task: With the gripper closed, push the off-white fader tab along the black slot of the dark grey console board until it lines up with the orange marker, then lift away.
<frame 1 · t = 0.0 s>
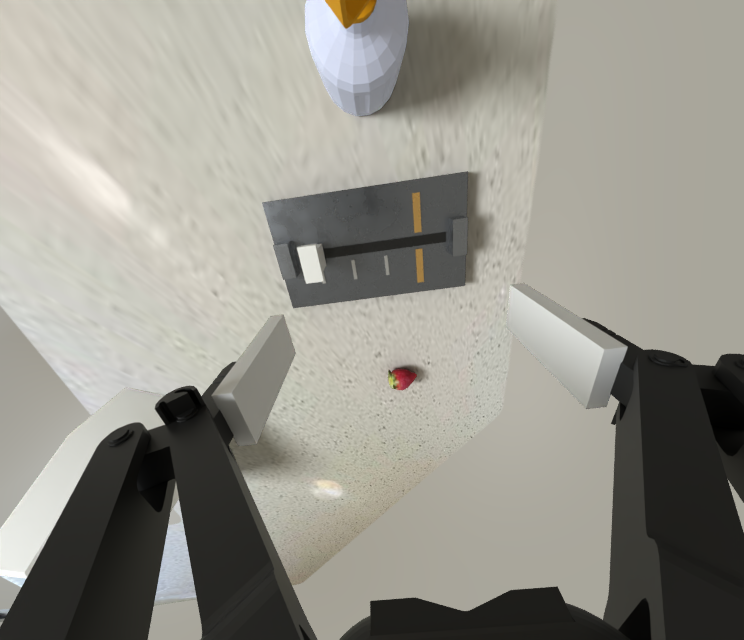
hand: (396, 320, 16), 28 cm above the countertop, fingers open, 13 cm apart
console: (370, 244, 41), on the countertop
milk carton: (167, 426, 58), on the countertop
fader: (314, 259, 37), point 5 cm above the countertop, slide at 0.0 cm
fruit: (400, 371, 52), on the countertop
soap bottle: (359, 70, 32), on the countertop
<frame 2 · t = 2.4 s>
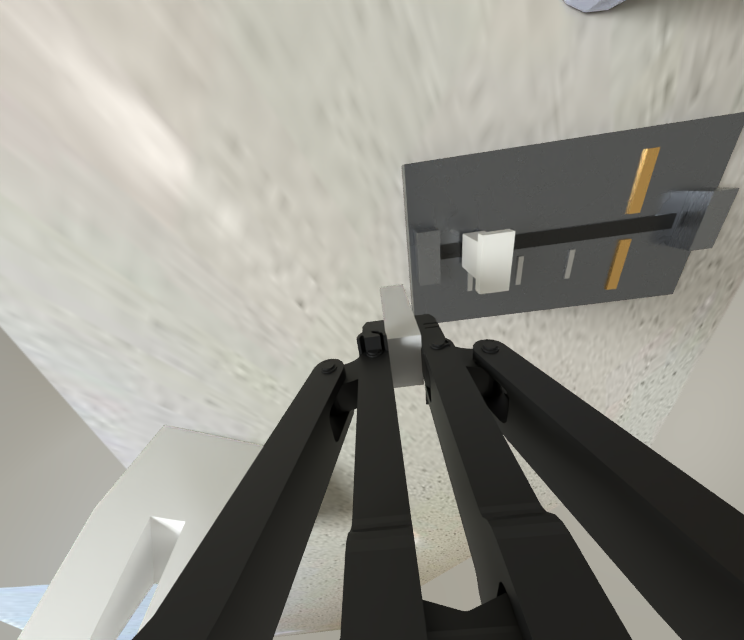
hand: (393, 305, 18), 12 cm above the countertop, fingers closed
console: (541, 233, 28), on the countertop
milk carton: (213, 470, 46), on the countertop
fader: (483, 256, 23), point 5 cm above the countertop, slide at 0.0 cm
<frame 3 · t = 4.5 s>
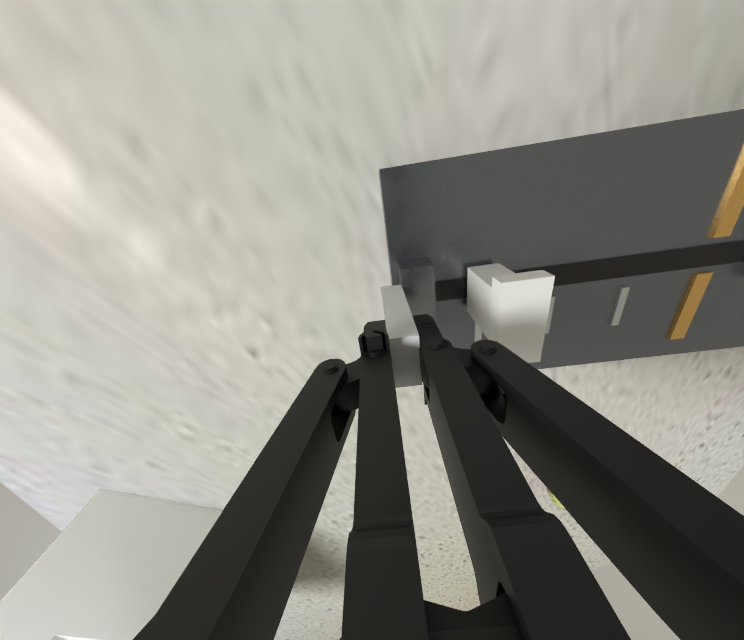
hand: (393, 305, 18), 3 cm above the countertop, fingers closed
console: (578, 262, 20), on the countertop
milk carton: (169, 535, 38), on the countertop
fader: (499, 303, 16), point 5 cm above the countertop, slide at 0.0 cm
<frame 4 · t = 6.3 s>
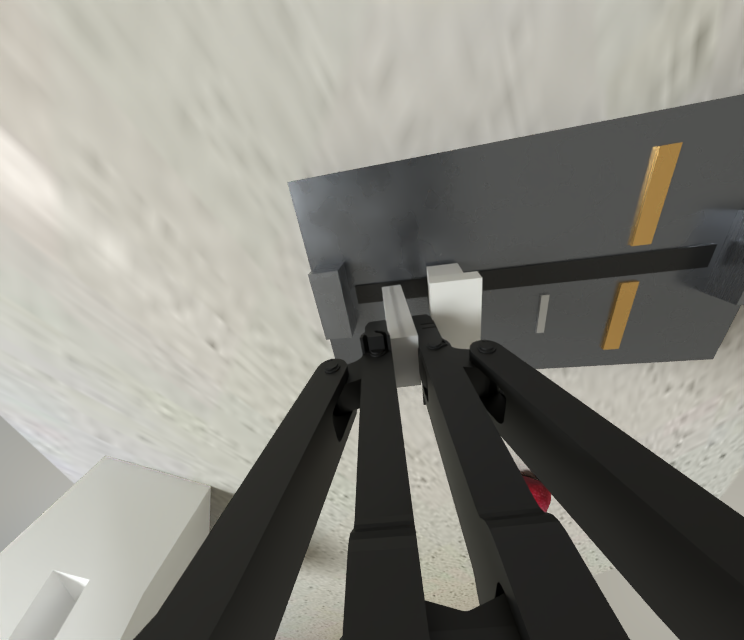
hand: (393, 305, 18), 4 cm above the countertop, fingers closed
console: (505, 268, 20), on the countertop
milk carton: (164, 501, 43), on the countertop
fader: (448, 303, 16), point 5 cm above the countertop, slide at 3.4 cm, touching gripper
fruit: (519, 475, 31), on the countertop
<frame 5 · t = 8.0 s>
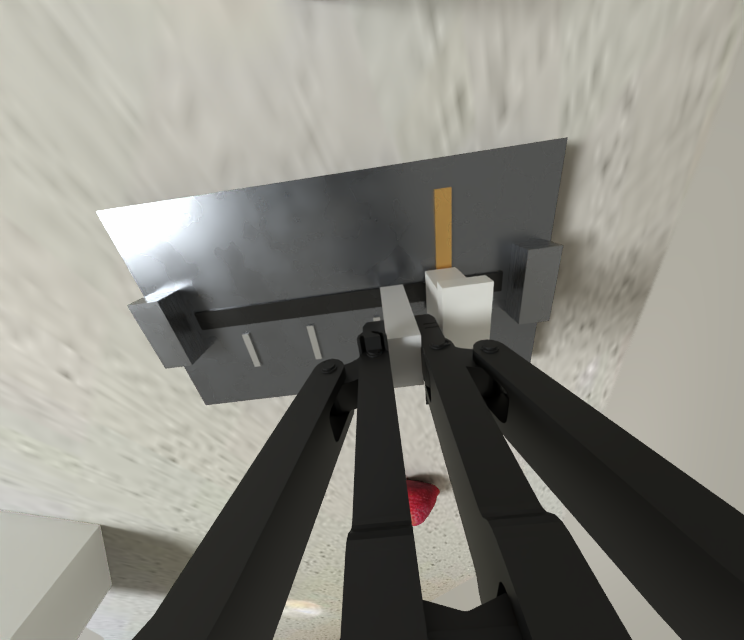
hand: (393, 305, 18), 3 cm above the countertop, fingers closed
console: (347, 291, 21), on the countertop
milk carton: (50, 547, 38), on the countertop
fader: (451, 307, 16), point 5 cm above the countertop, slide at 14.7 cm, touching gripper
fruit: (412, 480, 32), on the countertop
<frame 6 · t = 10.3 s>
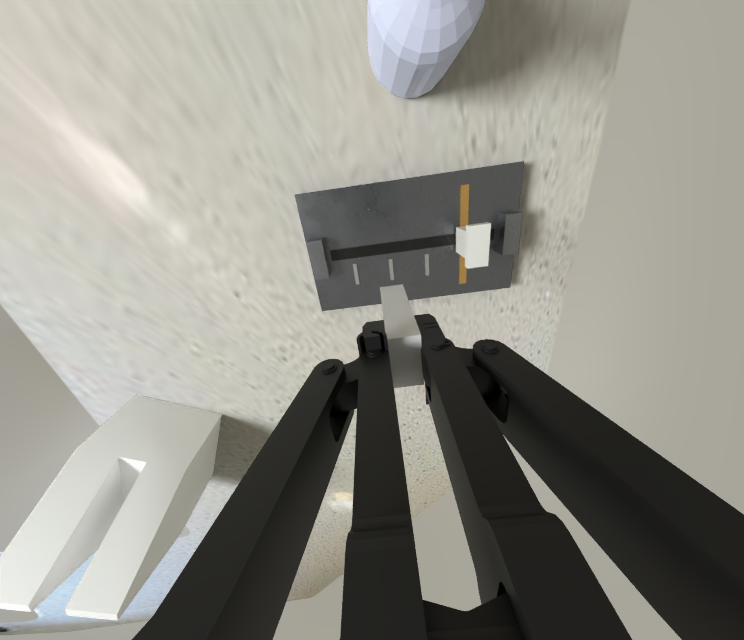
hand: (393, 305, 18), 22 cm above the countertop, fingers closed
console: (409, 242, 38), on the countertop
milk carton: (179, 436, 55), on the countertop
fader: (470, 242, 33), point 5 cm above the countertop, slide at 14.9 cm
soap bottle: (409, 47, 29), on the countertop
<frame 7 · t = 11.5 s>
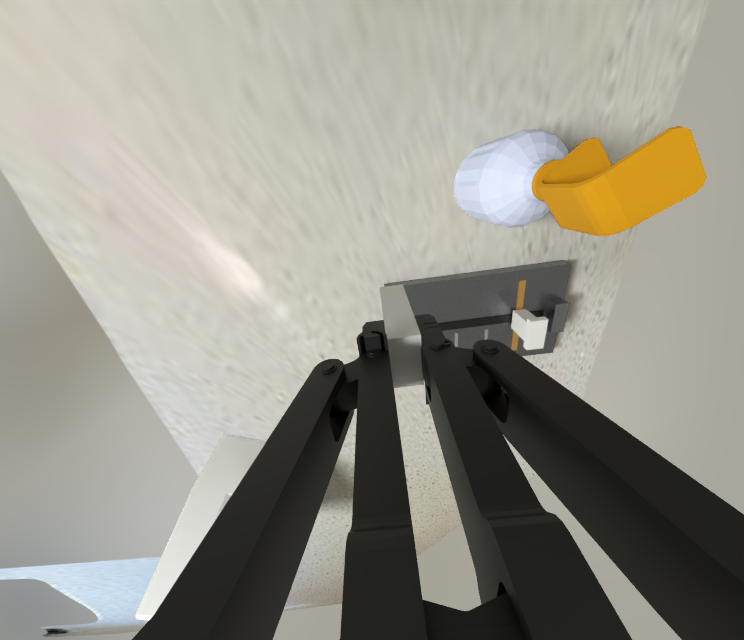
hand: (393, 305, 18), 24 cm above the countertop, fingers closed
console: (470, 317, 45), on the countertop
milk carton: (253, 466, 63), on the countertop
fader: (527, 326, 40), point 5 cm above the countertop, slide at 14.9 cm
soap bottle: (485, 183, 36), on the countertop
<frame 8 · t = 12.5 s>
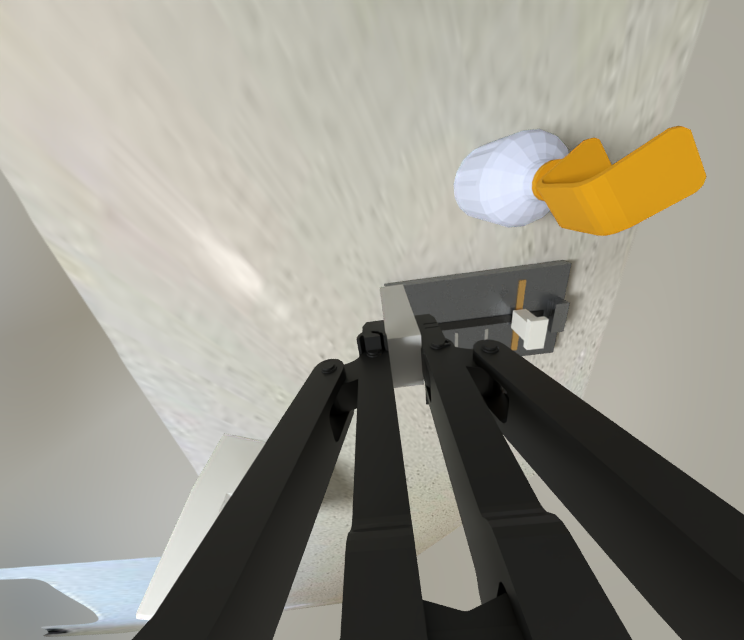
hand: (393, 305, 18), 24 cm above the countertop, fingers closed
console: (470, 317, 45), on the countertop
milk carton: (254, 466, 63), on the countertop
fader: (527, 326, 40), point 5 cm above the countertop, slide at 14.9 cm
soap bottle: (485, 182, 36), on the countertop
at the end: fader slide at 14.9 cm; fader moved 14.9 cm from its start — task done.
